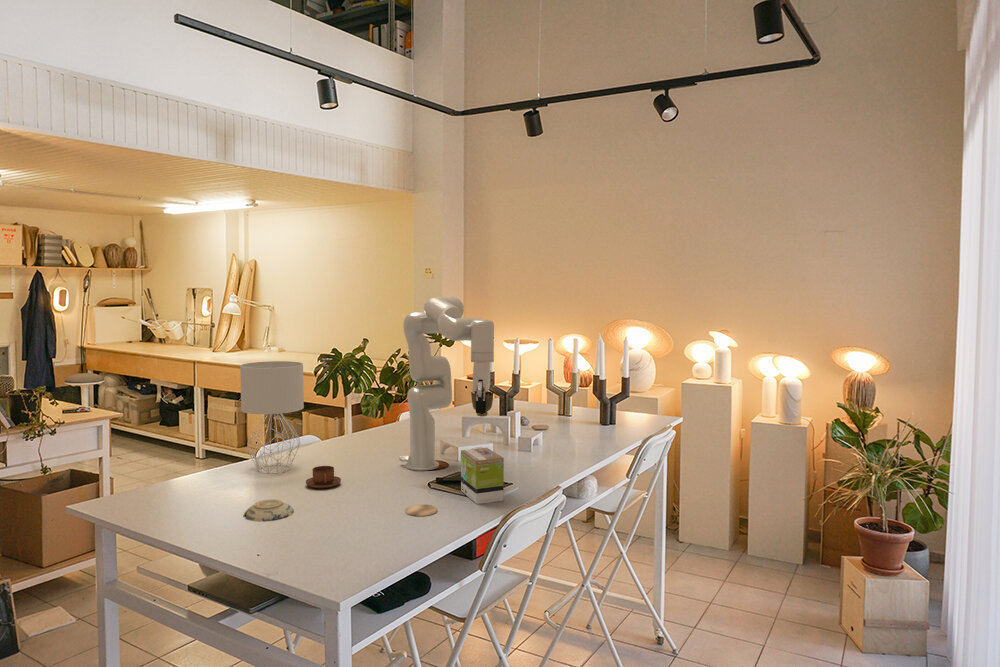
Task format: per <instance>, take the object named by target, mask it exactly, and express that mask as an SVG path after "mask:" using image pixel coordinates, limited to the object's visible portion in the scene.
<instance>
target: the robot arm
mask: <svg viewBox="0 0 1000 667" xmlns="http://www.w3.org/2000/svg"><path fill="white" fill-rule="evenodd" d="M464 310H465V307H464V304H463V301H462V299H459V298H458V297H455V296H435V297H431V298H429V299H427V300H426V302H425V303H424V306H423V310H422V311H413V312H409V313H408V314H406V316H405V317H404V320H403V325H402V327H403V333H404V337H405V340H406V344H407V348H408V362H409V363H408V366H409V367H408V368H409V376H410V378H411V379H412V380H413V381H414V382H418V383H419V382H435V383H436V384H421V385H420V384H419V385H416V386H412V387H411V388H410V389H409V390H408V391H407V394H406V396H407V397H406V399H407V400H406V401H407V404H408V406H407V407H408V411H409V454H407V455H399V457H398V461H400V462H407V463H406V464H405V467H406V469H407V470H411V471H421V472H423V471H424V472H425V471H430V470H431V471H432V470H435V469H438V468H439V467H440V464H439V461H436V422H435V419H434V416H433V415H432V414H431V413H430V411H431V410H438V409H445V408H448V407H450V406H451V404H452V401H453V385H452V370H451V369H452V368H451V365H450V361H449V360H448V359H447V358H446V357H445V356H442V355H432V349H431V343H430V341H429V340H428V338H427V337H426V336H425V335H424V334H440V335H441V336H443V337H444V338H446V339H448V340H450V341H453V342H454V341H455V342H460V341H461V342H462V341H470V363H473V367H472V368H473V369H472V388H471V389H472V390H471V392H473V393H475V391H477V396H476V410H475V413H476V414H477V413H486V401H485V393H487V391H489V390H490V386H491V385H490V384H491V364H492V363H494V361H495V323H494V322H493V320H491V319H484V318H481V317H463V315H464Z"/></svg>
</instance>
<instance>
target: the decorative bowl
mask: <svg viewBox="0 0 1000 667" xmlns="http://www.w3.org/2000/svg"><path fill="white" fill-rule="evenodd" d="M294 513H295V512H294V509H293V507H292V506H291V505H290V504H288V503H286V502H285V501H282V500H280V499H262V500H259V501H257V502H255V503H254V504H252V505H251V506H249V507H248V508H247V509H246V510H245V512H244V514H243V515H242V516H243V517H244V518H245V520H247V521H250V522H259V523H263V522H274V521H279V520H283V519H286V518H288V517H291V516H292V515H293V514H294Z"/></svg>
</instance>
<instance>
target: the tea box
mask: <svg viewBox="0 0 1000 667" xmlns="http://www.w3.org/2000/svg"><path fill="white" fill-rule="evenodd" d="M504 465H505V462H504V457H503V456H501V455H499V454H498V453H496V452H494V451H493V450H492V449H490V448H489V447H480V448H479V447H478V448H473V449H472V448H471V449H462V450H460V479H461V482H460V486H461V487H460V489H461V492H462V493H463V494H464V495H466V497H468V498H469V499H470V500H472V502H474V503H475V504H476V505H483V504H489V503H498V502H502V501H504V497H505V495H504V494H505V492H504V490H505V488H504V486H505V485H504V484H505V483H504V481H505V480H504V474H505V473H504V469H505V467H504ZM462 489H463V490H462Z"/></svg>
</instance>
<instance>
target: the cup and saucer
mask: <svg viewBox="0 0 1000 667" xmlns="http://www.w3.org/2000/svg"><path fill="white" fill-rule="evenodd" d="M341 482H342V479H341V477H339V476H336V475H335V467H334V466H331V465H318V466H314V467H313V468H312V477H309V478H307V479H306V480H305V485H307V486H308V487H310V488H313V489H314V488H316V489H329V488H333V487H336V486H337V485H339V484H340V483H341Z"/></svg>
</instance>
